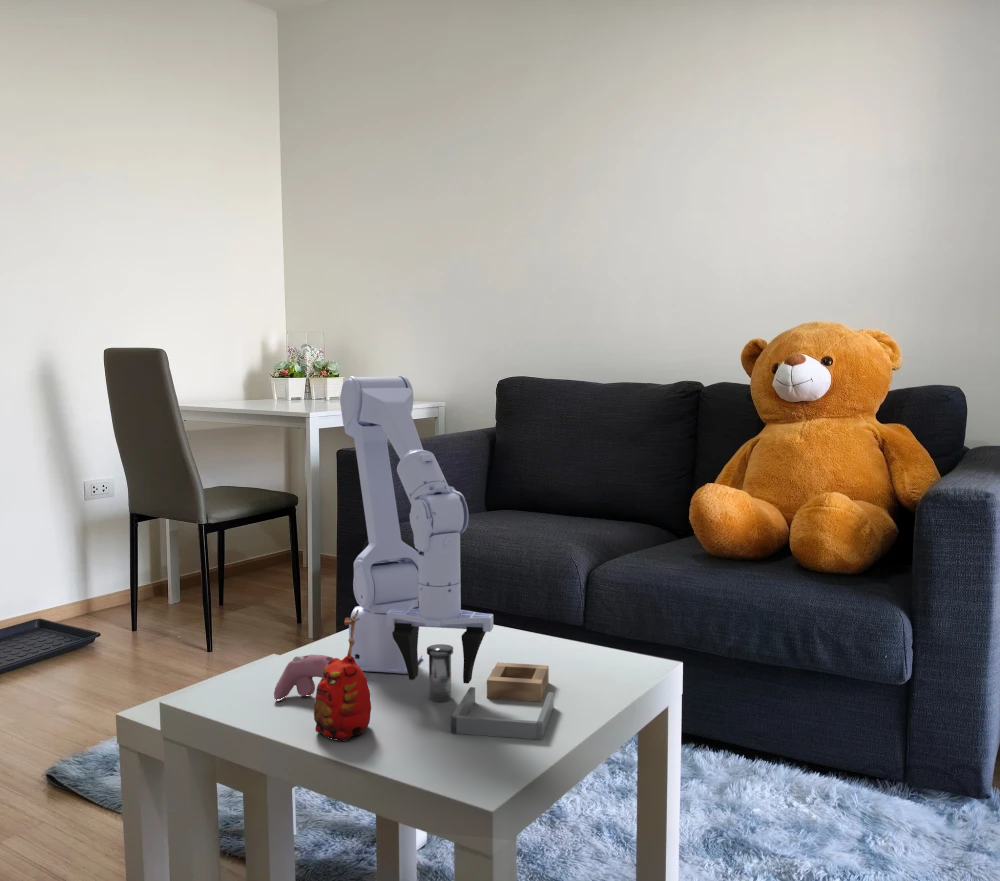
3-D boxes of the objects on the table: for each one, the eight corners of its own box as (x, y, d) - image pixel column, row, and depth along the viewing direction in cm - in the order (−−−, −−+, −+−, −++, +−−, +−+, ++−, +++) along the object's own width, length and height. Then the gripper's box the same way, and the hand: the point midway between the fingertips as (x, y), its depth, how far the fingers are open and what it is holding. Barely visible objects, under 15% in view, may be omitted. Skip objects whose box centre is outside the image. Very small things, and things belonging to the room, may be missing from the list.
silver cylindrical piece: (424, 702, 122) (423, 651, 122) (431, 692, 126) (430, 643, 125) (449, 703, 121) (449, 653, 121) (456, 694, 125) (455, 645, 124)
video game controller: (348, 712, 123) (358, 660, 125) (333, 708, 119) (344, 655, 121) (285, 704, 126) (296, 653, 128) (268, 700, 122) (280, 648, 124)
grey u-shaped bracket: (451, 732, 112) (450, 717, 112) (470, 701, 122) (470, 687, 122) (541, 739, 110) (541, 723, 109) (553, 707, 120) (553, 692, 120)
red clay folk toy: (302, 730, 113) (300, 613, 111) (348, 715, 118) (346, 602, 116) (339, 748, 107) (336, 625, 106) (385, 731, 112) (383, 613, 111)
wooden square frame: (486, 697, 124) (486, 680, 123) (497, 679, 131) (497, 662, 131) (541, 701, 122) (541, 683, 122) (548, 682, 130) (548, 665, 129)
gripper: (378, 586, 120) (380, 685, 121) (485, 591, 117) (486, 693, 118) (395, 574, 127) (396, 668, 128) (496, 578, 124) (496, 674, 125)
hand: (440, 679), depth 123 cm, fingers open, 7 cm apart
